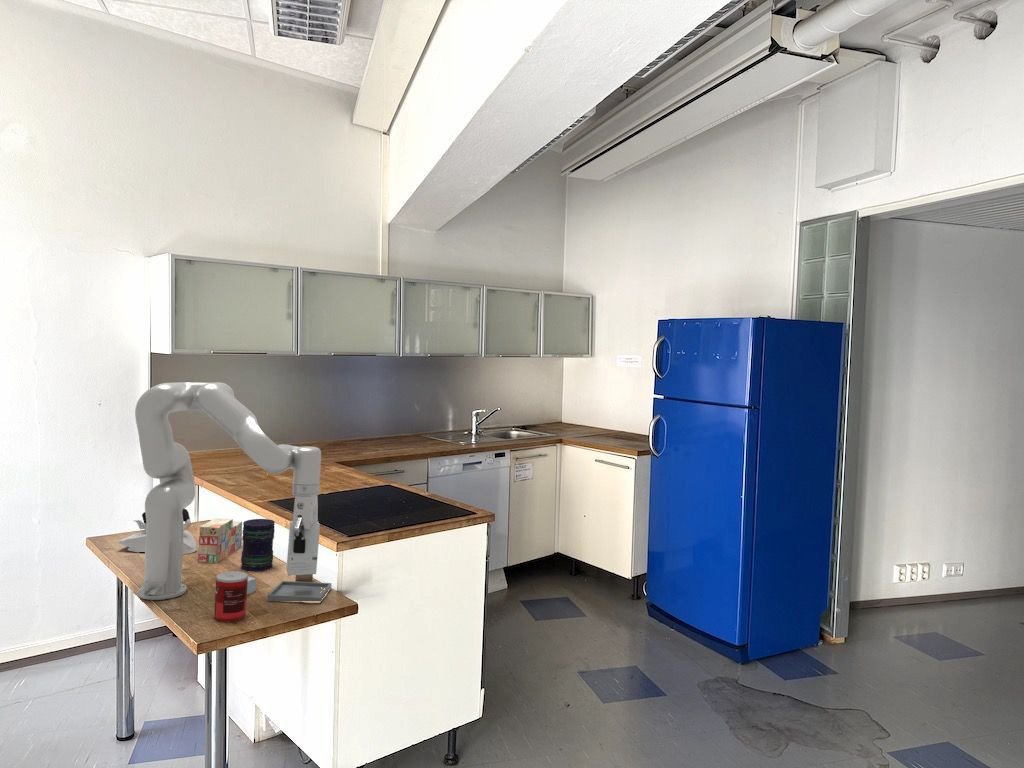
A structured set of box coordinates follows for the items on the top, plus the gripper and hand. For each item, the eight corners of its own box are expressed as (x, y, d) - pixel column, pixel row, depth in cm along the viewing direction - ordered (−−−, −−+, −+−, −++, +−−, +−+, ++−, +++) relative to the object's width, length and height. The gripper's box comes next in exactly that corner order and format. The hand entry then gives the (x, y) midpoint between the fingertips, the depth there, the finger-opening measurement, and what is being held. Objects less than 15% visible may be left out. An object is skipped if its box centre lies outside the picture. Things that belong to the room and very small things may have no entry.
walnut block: (312, 585, 205) (313, 569, 205) (295, 586, 203) (296, 569, 203) (312, 580, 210) (313, 564, 210) (295, 580, 208) (296, 565, 208)
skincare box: (287, 576, 191) (290, 525, 191) (286, 570, 197) (288, 520, 196) (317, 574, 194) (320, 523, 194) (315, 568, 200) (318, 519, 200)
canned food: (227, 609, 181) (229, 569, 181) (252, 614, 179) (254, 573, 179) (207, 619, 174) (209, 577, 173) (232, 624, 171) (234, 581, 171)
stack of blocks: (224, 546, 242) (226, 512, 242) (241, 546, 242) (243, 513, 242) (197, 562, 220) (199, 525, 220) (216, 564, 221) (218, 526, 220)
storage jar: (275, 570, 217) (278, 524, 217) (243, 573, 212) (246, 526, 212) (269, 561, 226) (271, 517, 225) (238, 564, 221) (240, 519, 220)
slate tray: (320, 604, 189) (320, 597, 189) (266, 601, 189) (267, 595, 189) (331, 589, 202) (331, 583, 202) (281, 586, 202) (281, 580, 202)
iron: (134, 544, 237) (136, 502, 237) (203, 548, 238) (205, 506, 238) (117, 552, 226) (119, 508, 226) (189, 556, 227) (191, 512, 227)
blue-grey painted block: (255, 591, 197) (256, 578, 197) (245, 595, 193) (246, 582, 193) (233, 587, 199) (233, 574, 199) (223, 591, 195) (224, 577, 195)
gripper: (310, 495, 186) (307, 558, 187) (326, 484, 204) (323, 542, 204) (283, 493, 186) (280, 556, 187) (301, 483, 204) (298, 541, 204)
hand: (303, 548), depth 195 cm, fingers closed on skincare box, 7 cm apart
